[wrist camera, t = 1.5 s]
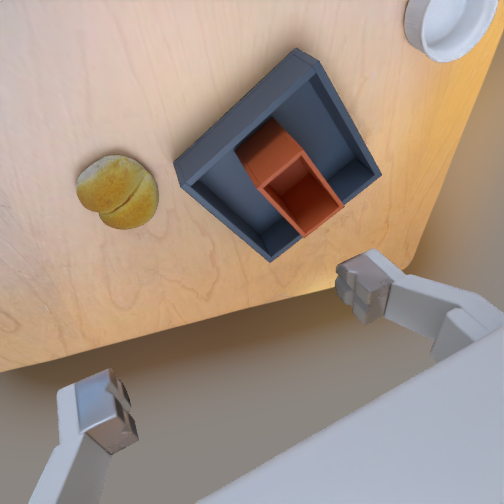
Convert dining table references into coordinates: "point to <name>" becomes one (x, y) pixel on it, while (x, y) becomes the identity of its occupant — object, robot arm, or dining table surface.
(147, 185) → the bread roll
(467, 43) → the ramekin
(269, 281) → the dining table surface
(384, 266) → the robot arm
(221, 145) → the outer bin
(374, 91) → the dining table surface
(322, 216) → the tote
